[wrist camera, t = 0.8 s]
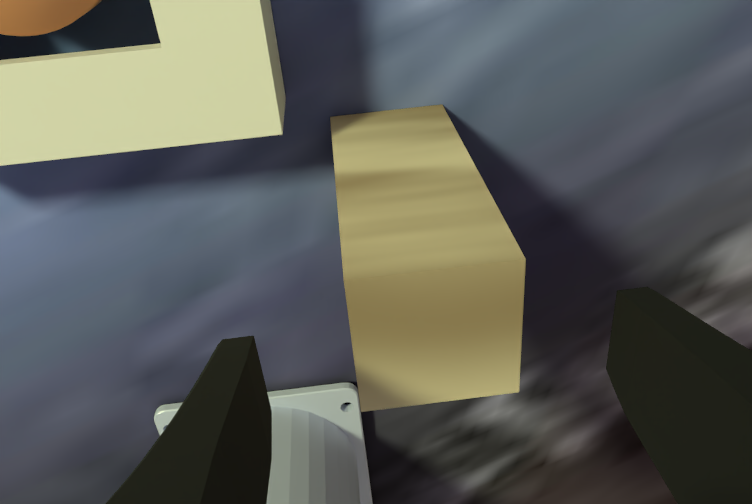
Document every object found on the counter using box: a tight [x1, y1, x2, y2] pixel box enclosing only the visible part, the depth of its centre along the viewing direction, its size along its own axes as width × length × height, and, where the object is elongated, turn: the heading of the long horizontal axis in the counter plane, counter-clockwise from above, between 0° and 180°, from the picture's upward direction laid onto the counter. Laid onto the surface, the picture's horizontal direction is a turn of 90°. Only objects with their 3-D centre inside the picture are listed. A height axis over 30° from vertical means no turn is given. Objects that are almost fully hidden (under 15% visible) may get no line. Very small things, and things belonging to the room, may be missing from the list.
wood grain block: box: [330, 105, 526, 412], centre depth 17 cm, size 4×4×9 cm
